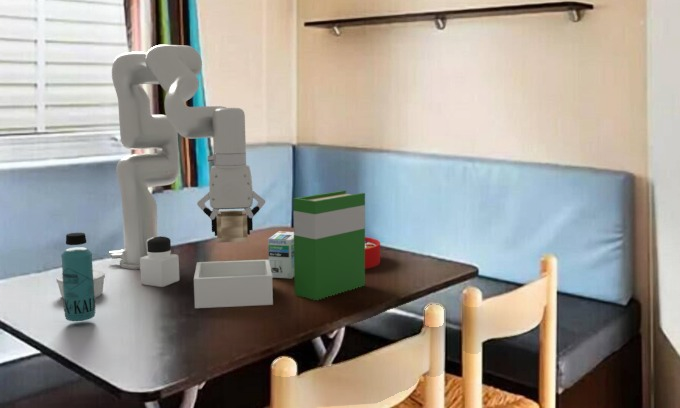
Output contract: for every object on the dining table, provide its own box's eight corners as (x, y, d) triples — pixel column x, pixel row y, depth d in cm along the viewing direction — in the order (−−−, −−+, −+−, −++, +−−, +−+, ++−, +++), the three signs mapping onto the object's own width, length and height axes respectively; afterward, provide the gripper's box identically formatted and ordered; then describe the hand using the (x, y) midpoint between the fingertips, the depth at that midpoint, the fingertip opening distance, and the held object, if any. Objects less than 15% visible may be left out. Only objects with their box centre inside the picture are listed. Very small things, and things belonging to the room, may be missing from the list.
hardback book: (343, 280, 193) (343, 190, 189) (364, 285, 188) (364, 193, 184) (294, 294, 180) (293, 198, 176) (315, 300, 175) (314, 201, 171)
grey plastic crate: (194, 308, 169) (193, 279, 168) (198, 289, 185) (197, 262, 184) (272, 304, 172) (272, 275, 171) (269, 286, 187) (268, 259, 186)
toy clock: (389, 248, 205) (319, 252, 200) (388, 268, 206) (319, 273, 201) (369, 234, 224) (305, 237, 219) (369, 252, 225) (305, 256, 220)
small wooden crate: (217, 242, 171) (216, 217, 170) (218, 234, 180) (217, 210, 179) (247, 241, 172) (246, 216, 171) (246, 233, 181) (246, 209, 180)
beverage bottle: (69, 319, 162) (63, 230, 159) (100, 318, 163) (94, 229, 159) (60, 328, 156) (54, 236, 152) (92, 327, 156) (87, 236, 153)
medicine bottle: (180, 280, 193) (178, 236, 191) (162, 287, 187) (160, 241, 185) (158, 277, 196) (156, 234, 194) (140, 284, 190) (138, 239, 188)
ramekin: (60, 305, 173) (59, 283, 172) (55, 293, 182) (53, 272, 181) (109, 298, 178) (108, 277, 177) (101, 287, 187) (100, 267, 187)
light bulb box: (292, 279, 194) (291, 239, 192) (267, 278, 195) (267, 238, 194) (302, 269, 204) (301, 231, 203) (279, 268, 206) (278, 230, 204)
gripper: (191, 162, 168) (194, 238, 171) (267, 161, 170) (269, 236, 173) (193, 159, 175) (196, 232, 178) (266, 158, 178) (268, 230, 181)
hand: (232, 233), depth 176 cm, fingers closed on small wooden crate, 7 cm apart
